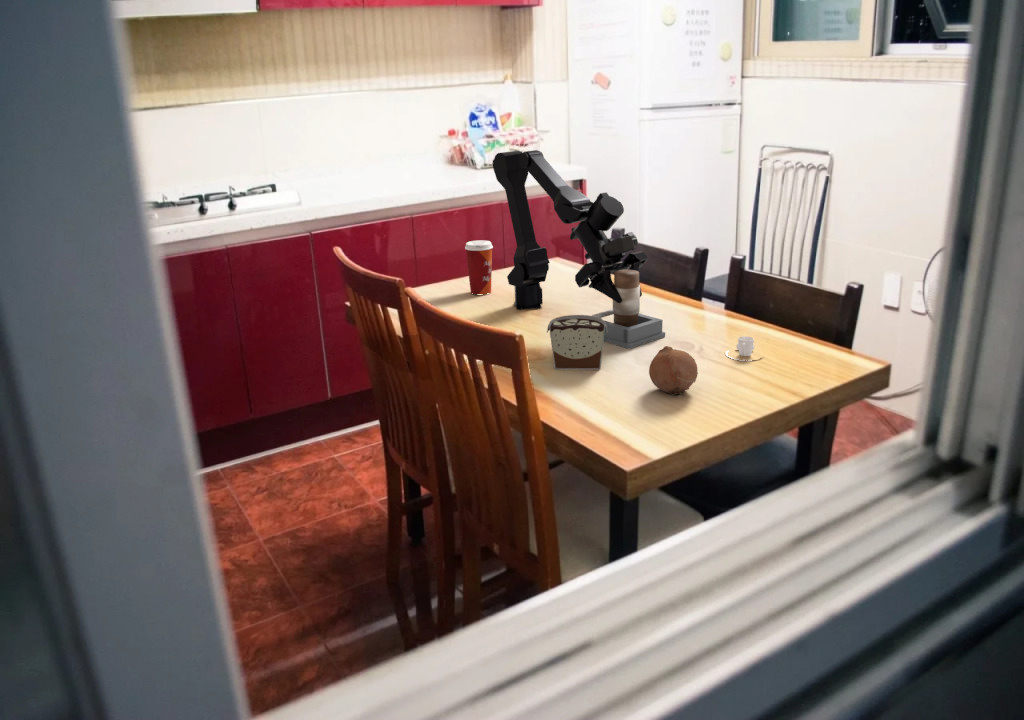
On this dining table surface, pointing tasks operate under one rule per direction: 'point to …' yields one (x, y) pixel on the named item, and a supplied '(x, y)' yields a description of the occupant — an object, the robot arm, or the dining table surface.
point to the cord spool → (627, 297)
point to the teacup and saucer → (744, 347)
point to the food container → (577, 341)
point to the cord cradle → (632, 331)
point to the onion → (673, 370)
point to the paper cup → (479, 266)
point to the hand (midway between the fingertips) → (630, 299)
